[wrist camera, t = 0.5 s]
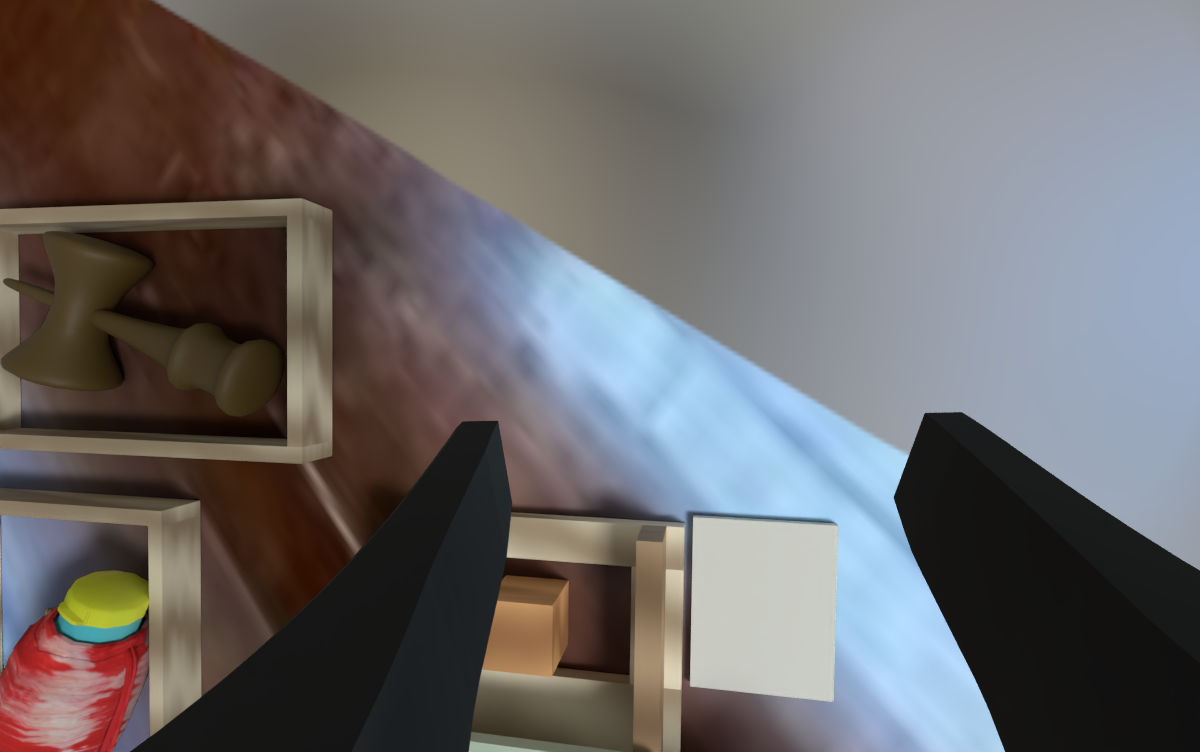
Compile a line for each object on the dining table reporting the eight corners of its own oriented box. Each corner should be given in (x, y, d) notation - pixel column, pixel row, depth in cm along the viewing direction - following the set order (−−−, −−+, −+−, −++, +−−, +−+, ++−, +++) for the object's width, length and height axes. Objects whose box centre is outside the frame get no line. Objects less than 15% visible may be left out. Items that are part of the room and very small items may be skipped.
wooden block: (568, 643, 37) (551, 677, 33) (506, 637, 38) (482, 669, 34) (568, 579, 37) (552, 605, 33) (506, 574, 38) (483, 599, 34)
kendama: (270, 447, 41) (32, 349, 44) (314, 314, 41) (70, 222, 43) (201, 460, 35) (-71, 346, 38) (251, 304, 35) (-28, 199, 37)
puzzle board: (678, 852, 36) (674, 914, 32) (401, 809, 39) (366, 860, 35) (684, 522, 36) (681, 543, 32) (402, 505, 39) (367, 522, 35)
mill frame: (332, 455, 40) (302, 463, 37) (10, 440, 44) (-40, 446, 41) (332, 210, 39) (301, 198, 36) (6, 220, 44) (-44, 210, 41)
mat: (831, 696, 35) (833, 701, 34) (690, 681, 36) (689, 686, 35) (836, 523, 34) (838, 525, 34) (693, 514, 36) (693, 517, 35)
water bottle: (-155, 867, 39) (-30, 535, 37) (1, 793, 47) (113, 514, 44) (-65, 1011, 36) (81, 652, 33) (89, 906, 43) (218, 607, 40)
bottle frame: (202, 938, 42) (165, 981, 39) (-5, 894, 46) (-54, 932, 43) (200, 500, 41) (161, 511, 39) (-12, 486, 45) (-62, 496, 42)
